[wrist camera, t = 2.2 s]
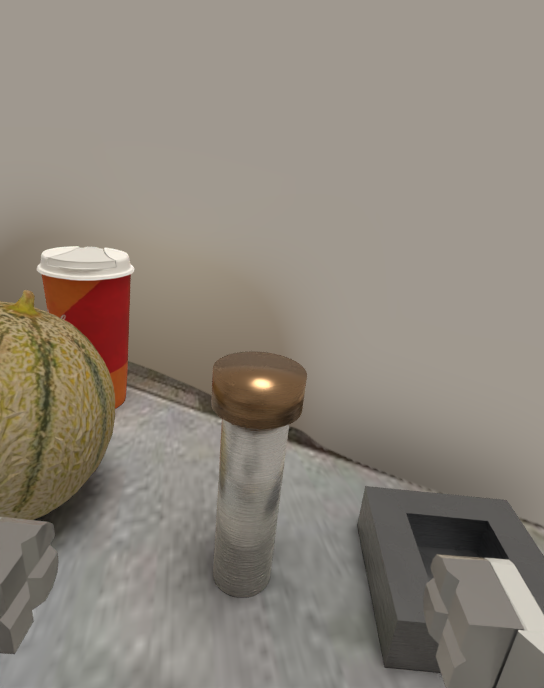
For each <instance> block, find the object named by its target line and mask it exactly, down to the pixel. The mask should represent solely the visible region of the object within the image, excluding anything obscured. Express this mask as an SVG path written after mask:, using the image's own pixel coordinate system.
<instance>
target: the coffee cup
mask: <svg viewBox="0 0 544 688" xmlns="http://www.w3.org/2000/svg"><path fill="white" fill-rule="evenodd" d="M103 251H104V252H103ZM37 271H38V272H39V273H41V274H42V279H43V285H44V291H45V298H46V303H47V310H48V313H51V314H53V315H55V316H57V317H59V318H61V319H63V320H65V321H67V322H69V323H70V324H72V325H73V326H74V327H76V328H77V329H78V330H79V331H80V332H81V333H82V334H84V335H85V336H86V337H87V338H88V339H89V341H90V342H91V343H92V344H93V346H94V347H95V349H96V350H97V352H98V353H99V355H100V356H101V358H102V359H103V361H104V362H105V364H106V366H107V368H108V370H109V373H110V376H111V379H112V382H113V387H114V393H115V409H116V408H117V407H119V406H120V405H122V404H123V402H124V401H125V397H126V386H127V364H128V337H129V336H128V335H129V305H130V276H131V274H132V273H133V272H134V268H133V266H132V265H131V264H130V260H129V256H128V254H127V253H125V252H123V251H120V250H116V249H111V248H104V250H103V249H99V248H98V247H85V248H79V246H74V247H73V246H72V247H59V248H52V249H48V250H46V251H44V252H43V253H42V254H41V263H40V264H39V265H38V267H37Z"/></svg>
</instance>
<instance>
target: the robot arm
mask: <svg viewBox="0 0 544 688" xmlns="http://www.w3.org/2000/svg"><path fill="white" fill-rule="evenodd" d="M54 537H55V532H54V526H53V524H52V523H50V522H45V521H36V520H27V519H18V518H9V517H0V653H3V654H15V653H16V651H17V649H18V648H19V646H20V644H21V642H22V641H23V639H24V637H25V635H26V634H27V632H28V630H29V628H30V627H31V625H32V623H33V622H34V621H33V614H32V610H33V609H34V608H36V607H37V606H39V605H40V604H42V603H43V602H44V601H46V599H47V597H48V595H49V593H50V591H51V590H52V588H53V585H54V581H55V578H56V575H57V571H58V553H57V551H56V550H55V549H54V548H53V547H52V546H51V545H50V544H51V542H52V540H53V539H54ZM430 568H431V571H432V574H433V577H434V578H433V579H431V580H430V581H429V582H428V583H426V586H425V591H424V595H423V610H424V616H425V622H426V625H427V629H428V632H429V634H430V635H431V636H432V637H433V639H434V640H435V641H436V642H437V643H438V644H439V646H438V650H437V653H436V658H437V662H438V665H439V668H440V671H441V674H442V678H443V681H444V684H445V687H446V688H544V614H543V613H542V611H541V609H540V607H539V606H538V604H537V602H536V601H535V599H534V597H533V596H532V594H531V592H530V590H529V589H528V587H527V585H526V584H525V582H524V580H523V579H522V577H521V575H520V573H519V572H518V570H517V568H516V567H515V565H514V564H513V563H512V562H511V561H510V560H507V559H494V558H480V557H466V556H453V555H439V554H436V556H435V557H434V558H433V560H432V564H431V567H430Z"/></svg>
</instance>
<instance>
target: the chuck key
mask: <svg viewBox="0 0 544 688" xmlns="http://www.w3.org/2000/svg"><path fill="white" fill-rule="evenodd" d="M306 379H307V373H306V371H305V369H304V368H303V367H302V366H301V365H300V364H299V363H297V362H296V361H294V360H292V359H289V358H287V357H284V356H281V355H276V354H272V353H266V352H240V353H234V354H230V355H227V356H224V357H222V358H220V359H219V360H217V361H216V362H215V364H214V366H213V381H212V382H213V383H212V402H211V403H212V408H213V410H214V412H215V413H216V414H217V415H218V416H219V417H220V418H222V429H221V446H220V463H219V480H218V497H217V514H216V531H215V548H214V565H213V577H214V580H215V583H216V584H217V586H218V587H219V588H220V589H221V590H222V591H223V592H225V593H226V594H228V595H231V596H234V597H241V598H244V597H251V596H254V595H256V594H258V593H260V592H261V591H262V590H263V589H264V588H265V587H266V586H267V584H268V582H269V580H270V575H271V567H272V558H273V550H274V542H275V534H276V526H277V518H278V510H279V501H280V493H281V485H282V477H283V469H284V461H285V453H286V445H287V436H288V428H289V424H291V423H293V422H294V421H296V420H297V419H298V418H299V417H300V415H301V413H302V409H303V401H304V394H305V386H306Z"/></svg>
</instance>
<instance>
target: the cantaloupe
mask: <svg viewBox="0 0 544 688" xmlns="http://www.w3.org/2000/svg"><path fill="white" fill-rule="evenodd" d="M34 297H35V296H34V295H33V293H32V292H31V291H27V290H24V292H23V295H22V297H21V298H20V299H19V300H18V302H17V303H8V302H2V301H0V517H9V518H18V519H27V520H35V519H37V518H39V517H41V516H44V515H45V514H47V513H50V512H51V511H52V510H54V509H56V508H58V507H59V506H60V505H62V504H63V503H65V502H66V501H67V500H69V499H70V498H71V496H73V495H74V494H75V493H77V492H78V490H79V489H80V488H81V487H82V485H83V484H84V483H85V482H86V481H87V480H88V479H89V477H90V476H91V474H92V473H93V472H95V471H96V469H97V467H98V465H99V464H100V462H101V460H102V458H103V456H104V454H105V452H106V449H107V447H108V444H109V442H110V439H111V436H112V433H113V427H114V420H115V393H114V387H113V382H112V379H111V376H110V373H109V370H108V368H107V366H106V364H105V362H104V361H103V359H102V358H101V356H100V355H99V353H98V352H97V350H96V349H95V347H94V346H93V344H92V343H91V342H90V341H89V339H88V338H87V337H86V336H85V335H84V334H82V333H81V332H80V331H79V330H78V329H77V328H76V327H74V326H73V325H72V324H70V323H69V322H67V321H65V320H63V319H61V318H59V317H57V316H55V315H53V314H51V313H48V312H46V311H41V310H39V309H37V308H35V307H34Z"/></svg>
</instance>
